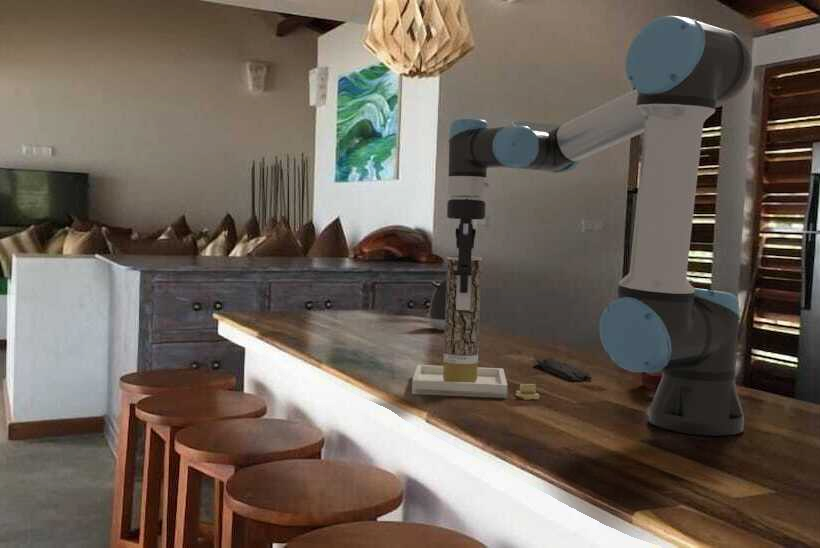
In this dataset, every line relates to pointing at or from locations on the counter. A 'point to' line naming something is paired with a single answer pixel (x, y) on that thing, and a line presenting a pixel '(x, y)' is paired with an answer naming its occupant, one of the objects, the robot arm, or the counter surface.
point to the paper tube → (461, 326)
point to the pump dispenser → (438, 305)
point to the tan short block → (527, 392)
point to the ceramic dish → (459, 383)
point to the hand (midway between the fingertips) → (463, 306)
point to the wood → (564, 370)
